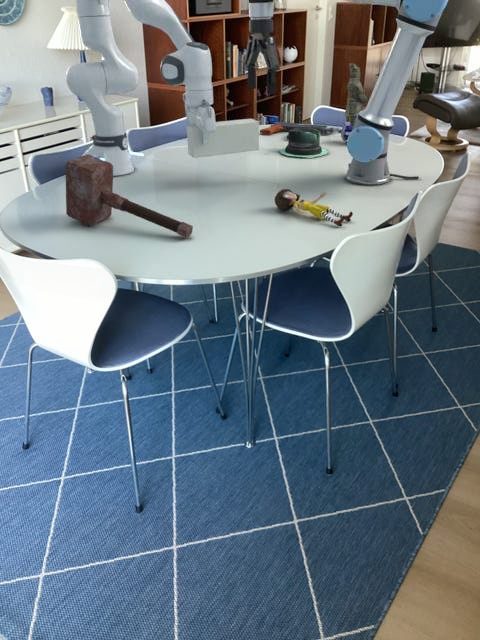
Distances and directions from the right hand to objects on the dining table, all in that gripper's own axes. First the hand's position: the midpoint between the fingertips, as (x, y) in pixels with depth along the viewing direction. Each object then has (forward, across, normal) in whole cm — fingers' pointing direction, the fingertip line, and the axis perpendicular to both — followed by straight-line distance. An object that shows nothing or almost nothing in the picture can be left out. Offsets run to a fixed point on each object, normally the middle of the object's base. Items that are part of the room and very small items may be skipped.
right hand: (261, 91), depth 184 cm
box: (+19, +4, +13) cm, 23 cm away
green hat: (+31, +29, -36) cm, 56 cm away
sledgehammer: (+31, -22, +54) cm, 66 cm away
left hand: (+15, +4, +20) cm, 26 cm away
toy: (+31, +30, -64) cm, 77 cm away
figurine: (+31, -39, +4) cm, 49 cm away
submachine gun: (+31, +60, -50) cm, 84 cm away
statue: (+31, +53, -79) cm, 100 cm away
